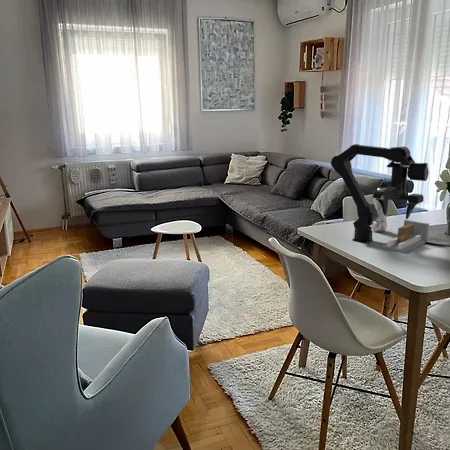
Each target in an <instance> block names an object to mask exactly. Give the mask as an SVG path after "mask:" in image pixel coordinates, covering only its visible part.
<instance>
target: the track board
mask: <svg viewBox="0 0 450 450" xmlns="http://www.w3.org/2000/svg"><path fill="white" fill-rule="evenodd" d="M407 224H414V232H413V237H412V238H410V239H408V240H406V241H404V242H401V243H399V244H398V245H397V238H398V236H397V237H394V238H393V239H390V240H388V241H387V242H386V243H384V244H382V245H381V248H382V249H386V250H391V251H395V252H401V253H404V254H407V253H409V252H412V251H413V250H414V249H416V248H418V247H421V246H422V245H425V244H426V242H427V241H428V240H429V230H430V223H427V222H423V221H422V222H421V221H415V220H410V219H404V220H403V226H405V225H407ZM427 243H428V242H427Z"/></svg>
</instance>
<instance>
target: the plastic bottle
mask: <svg viewBox="0 0 450 450" xmlns="http://www.w3.org/2000/svg"><path fill="white" fill-rule="evenodd" d="M386 188H387V187H377V190H385V189H386ZM376 199H377V198H373V204H374V205H375V208H376V210H377V211H378V212H377V214H378V218H377V220H376V221H375V222H373V224H372V225H371V227H372V231H374V232H379V233H380V232H385V231H386V230H387V228H388V223H387V215H386V216H384V213H383V210H382V207H381V204H380V202H379V201H378V200H376ZM389 201H390V200H388V202H389Z"/></svg>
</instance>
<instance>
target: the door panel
mask: <svg viewBox="0 0 450 450" xmlns="http://www.w3.org/2000/svg"><path fill="white" fill-rule="evenodd" d="M413 232H414V224H407V225H405V226H404V225H402V226H400V227H398V229H397V237H398V238H397V237H396V238H397V245H398V244H399V243H401V242H404V241H406V240H408V239H410V238H412V237H413Z"/></svg>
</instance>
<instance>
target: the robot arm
mask: <svg viewBox="0 0 450 450" xmlns="http://www.w3.org/2000/svg"><path fill="white" fill-rule="evenodd" d="M357 155H361V156H368V157H375V158H376V157H378V158H383V159H386V160H388V161H390V162H389V164H387V165H386V168H391V177H390V178H391V179H390V181H389V182H388V186H387V187H385V188H386V189H385V190H378V189H377V190H374V191H373V193H372V199H374V198H377V199H376V200H378V201H379V202H380V204H381V207H382V210H383V213H384V216H386V217H387V214H388V208H389V207H388V206H389V201H395V200H396V199H398V200H405V201H406V200H407V202H406V212H405V220H409V218H410V216H411V214H412V212H413V210H414V209H415V207H416V206H417V205H419V204H421V203H424V197H425V196H424V195H423V194H420V193H412V194H408V191H407V184H408V183H409V181H407V178H408V179H409V180H411V181H420V182H421V181H422V182H427V180H428V178H429V174H430V173H429V172H430V171H429V166H428V164H429V163H428V162H422V163H421V162H416V161H415V160H414V158H413V157H412V155H411V151H410V149H409V147H407V146H395V147H394V146H393V147H382V146H374V145H373V146H372V145H364V144H358V143H356V144H352V145H350V146H349V147H348V148H347V149H345V150H344V151H342V152H341V153H340V154H338V155H335V156H333V157H332V159H331V161H330V165H331V167H332V169H333V171H335V173H337V174H338V175H339V176H340V177H341V178H342V181H343V182H344V184H345V186H346V189H347V191H348V192H349V195H350V196H351V198H352V200H353V201H354V204H355V206H356V211H357V213H356V214H357V217H358V218H357V219H356V220H355V221H354V222H353V227H354V237H353V238H352V241H355V242H360V243H364V244H367V243H369V242H372V241H373V240H374V238H373V233H374V232H373V231H374V230H373V229H372V224H373V222H375V221H376V220H377V218H378V214H377V212H378V211H377V210H376V208H375V205H374V203H371V204H370V203H369V201H367V199H366V197H365V195H364V193H363V191H362V189H361V188H360V185H359V183H358V181H357V179H356V177H355V176H354V174H353V169H352V163H351V161H352V160H353V159H355V157H356V156H357ZM407 194H408V195H407ZM388 200H389V201H388Z"/></svg>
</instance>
